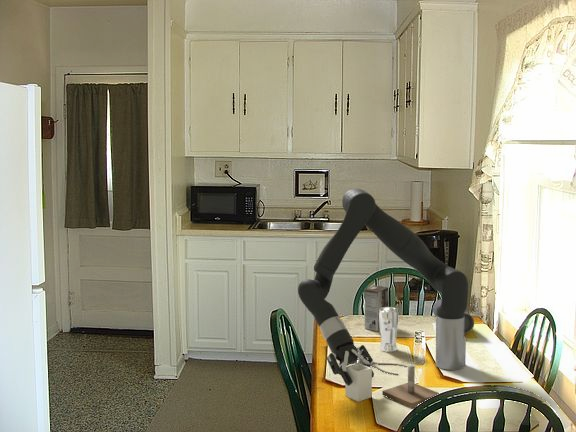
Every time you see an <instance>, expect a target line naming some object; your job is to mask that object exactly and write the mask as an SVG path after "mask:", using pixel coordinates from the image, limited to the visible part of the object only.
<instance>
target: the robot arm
mask: <svg viewBox="0 0 576 432" xmlns="http://www.w3.org/2000/svg"><path fill="white" fill-rule="evenodd" d="M341 202H342V208H343V210H344V212H345V215H344V218H343V220H342V223H341V224H340V226H339V228H337V231H336V232H335V234H333V236H332V237H331V238H330V239H329V240H328V241H327V243H326V244H325V245H324V247H323V248H322V250H321V252H320V254H319V256H318V257H317V259H316V261H315V263H314V266H313V270H314V272H315V273H316V274H315V276H314V279H309V278H307V279H303V280H302V281H300V283H298V285H297V286H298V287H297V293H298V297H299V299H300V301H301V302H302V304H303V305H304V306H305V307H306V309H307V310H308V311H309V312H310V314H311V315H312V316H313V317H314V319H315V322H316V323H317V325H318V327H319V330H320V332H321V334H322V337H323V339H324V340H325V342H326V344H327V346H328V348H329V349H330V352H331V353H330V354H329V355H328V356H326V361H327V363H328V366H329V367H330V369H331V371H332V373H333V375H339V376H340V377H341V378H342V379H343V382H344V384H345V383H346V384H347V385H348V386H349V385H351V384H352V383H353V381H352V379H351V377H350V375H349V374H348V372H347V371H346V367H348V366H350V365H355V364H358V363H360V364H362V365H365V366H368V367H370V363H371V362H374V359H373V357H372V356H371V354H370V353H369V351H368V350H367V348H366V347H365V345H364V344H362V345H360V346H359V347H356V346H355V343H354V339H353V338H352V336H351V334H350V332H349V330H348V328H347V327H346V325H345V323H344V321H343V320H342V319H341V318H340V316H339V314H338V312H337V310H336V308H335V307H334V305H333V304H331V302H329V301H327V300H326V298H327V296H328V295H329V293H330V289H331V287H332V283H333V279H334V276H335V274H336V272H337V270H338V268H339V266H340V264H341V263H342V261H343V259H344V257H345V255H346V254H347V252H348V250H349V248H350V247H351V245H352V243H353V242H354V241H355V239H356V237H357V236H358V235H359V234H360V231H362V229H363V228H364V227H367V228H368V229H369V230H370V231H371V232H372V233H373V234H374V235H375V236H376V238H378V239H379V241H381V243H382V244H383V245H384V246H385V247H386V248H388V249H389V250H390V251H391V252H392V253H393V254H394V255H395V256H397V257H398V258H399V259H401V261H403V262H404V263H405V264H407V265H409V266H410V267H411V268H413V269H415V270H416V271H417V272H419V273H420V274H421V275H422V276H423V277H424V278H425V279H426V280H427V281H428V282H429V283H430V284H431V285H432V286H433V288H434V289H435V290H436V291H437V292H439V293H441V299H442V301H441V305H439V306H438V307H437V309H436V316H435V324H436V325H435V326H436V327H435V366H436V367H437V368H439V369H442V370H447V371H448V370H449V371H450V370H451V371H453V370H454V371H455V370H460V369H463V368H464V366H465V365H466V353H467V349H466V348H467V347H466V346H467V338H466V337H465V334H464V315H465V311H466V310H467V307H468V299H469V298H468V297H469V281H468V277H467V276H466V274H465V273H463V272H462V271H461V270H458V269H457V268H453V267H451V266H449V265H447V264H446V263H444V262H443V261H441V260H440V259H439V258H438V257H436V256H435V255H433V253H432V252H431V251H430V249H429V247H428V246H427V245H426V243H425V242H424V241H423V240H422V239H421V238H420V237H419V236H418V235H417V234H416V233H414V231H413V230H411V229H410V228H409V227H407V226H406V225H405V224H403V223H402V222H400V221H399V220H397V219H396V218H394V217H392V216H391V215H389V214H388V213H386V212H385V211H384V210H383V209H382V208H380V206H378V204H376V200H375V198H374V197H373V196H372V195H371V194H370V193H368V192H367V191H366V190H363V189H362V188H352V189H349V190H347V191H346V192H345V193H344V194H343V197H342V200H341ZM357 359H359V360H357ZM362 362H363V363H362ZM370 368H372V367H370ZM374 376H375V373H374V371H373V370H372V379H373V378H374Z"/></svg>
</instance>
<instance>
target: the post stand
mask: <svg viewBox="0 0 576 432" xmlns="http://www.w3.org/2000/svg"><path fill="white" fill-rule="evenodd" d="M407 366H408V368H407V382H406V383H403V384H399V385H397V386H394V387H391V388H390V387H389V388H387V389H385V390H382V394H381V395H385V396H387V397H388V398H387V399H389V398H391V399H393V400H395V401H394V402H396V401H397V402H396V403H398V402H399V403H398V404H400V403H401V404H400V405H403V406H405V405H406V406H405V407H407V406H408V408H410V407H411V408H410V409H414V408H416V407H415V406H417V405H418V404H420V403H422V402H424V401H425V400H427V399H429V398H431V397H433V396H435V395H437V394H439V393H440V392H438V391H435V390H432V389H430V388H427V387H424V386H422V385H419V384H417V383H415V376H416V375H415V368H416V367H415V365H412V364H411V365H407ZM391 399H390V400H391ZM393 400H392V401H393ZM413 407H414V408H413ZM417 407H418V406H417Z"/></svg>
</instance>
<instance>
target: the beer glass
mask: <svg viewBox="0 0 576 432" xmlns="http://www.w3.org/2000/svg"><path fill="white" fill-rule="evenodd" d="M398 310H399V309H398V308H396V307H393V306H389V307H382V308H380V309H379V328H380V330H379V332H380V346H379V350H380V351H381V350H382V351H381V352H384V351H385V353H394V352H396V351H397V350H398V347H397V346H398V345H397V335H398V328H399V311H398Z"/></svg>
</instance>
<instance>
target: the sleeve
mask: <svg viewBox="0 0 576 432" xmlns="http://www.w3.org/2000/svg"><path fill="white" fill-rule="evenodd" d="M346 371H347V372H348V374H349V375H350V377H351V379H352V381H353V383H352V384H351V385H349V386H348V385H347V384H346V383H345V382H344V384H345V386H344V387H345V388H344V389H345V391H344V392H345V395H344V396H345V397H347V398H349V399H351V400H353V401H356V402H361V401H364V400H367V399H370V398H372V397H373V390H372V389H373V378H372V371H373V367H371V368H370V367H368V366H365V365H362V364H360V363H358V364H355V363H354V364H350V365H348V366H346Z"/></svg>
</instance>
